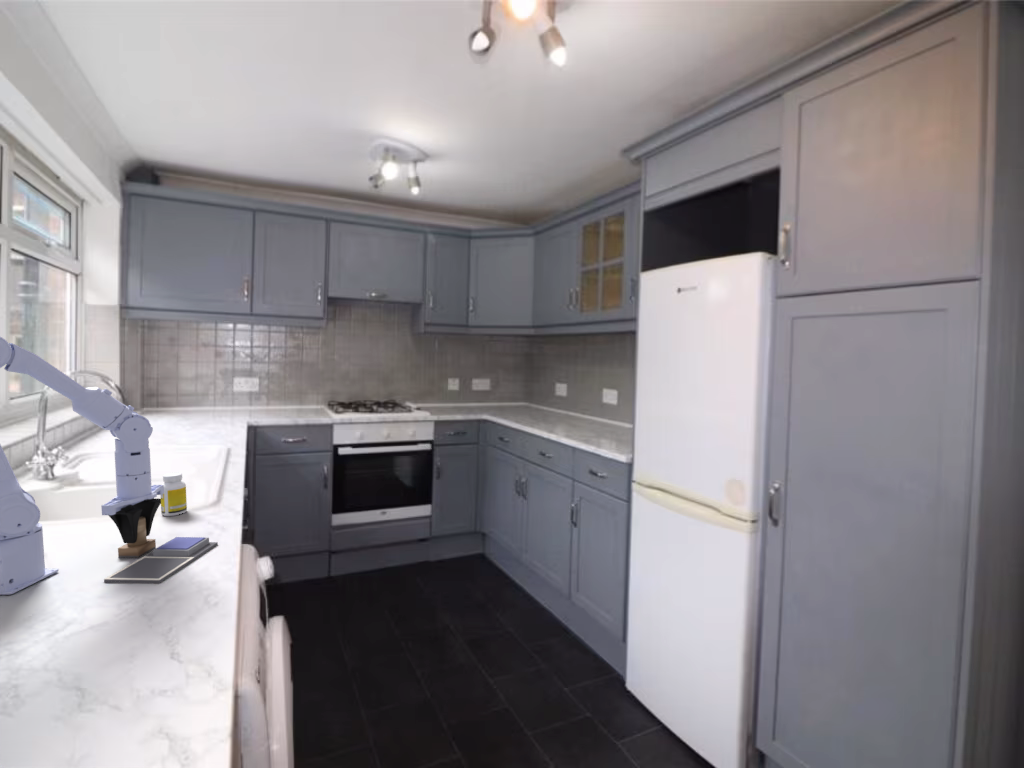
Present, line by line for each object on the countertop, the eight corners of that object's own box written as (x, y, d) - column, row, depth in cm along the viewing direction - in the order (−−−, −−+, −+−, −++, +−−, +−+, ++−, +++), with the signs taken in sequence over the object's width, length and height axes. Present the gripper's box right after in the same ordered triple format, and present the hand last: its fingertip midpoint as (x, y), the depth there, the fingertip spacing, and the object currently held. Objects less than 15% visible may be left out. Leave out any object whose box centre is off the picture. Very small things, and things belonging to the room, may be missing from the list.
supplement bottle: (192, 510, 135) (190, 472, 134) (176, 517, 130) (174, 477, 129) (172, 509, 136) (170, 471, 135) (155, 516, 130) (153, 476, 130)
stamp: (138, 558, 105) (136, 523, 105) (118, 558, 105) (116, 523, 105) (155, 548, 110) (154, 515, 110) (136, 548, 110) (135, 515, 110)
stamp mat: (159, 583, 94) (159, 572, 94) (104, 582, 95) (103, 571, 95) (217, 544, 112) (217, 535, 112) (170, 544, 113) (170, 535, 112)
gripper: (126, 482, 99) (130, 553, 100) (176, 464, 114) (179, 526, 115) (88, 482, 99) (93, 553, 100) (144, 464, 114) (147, 526, 115)
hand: (136, 539), depth 107 cm, fingers closed on stamp, 3 cm apart
